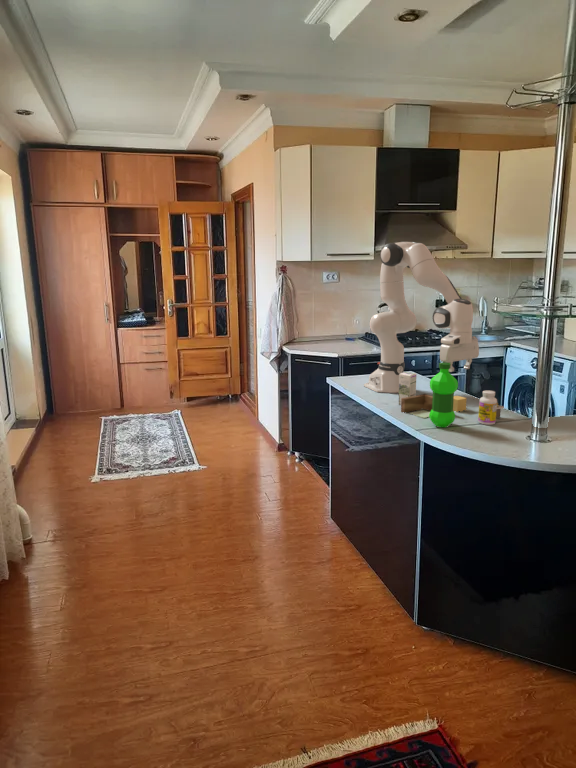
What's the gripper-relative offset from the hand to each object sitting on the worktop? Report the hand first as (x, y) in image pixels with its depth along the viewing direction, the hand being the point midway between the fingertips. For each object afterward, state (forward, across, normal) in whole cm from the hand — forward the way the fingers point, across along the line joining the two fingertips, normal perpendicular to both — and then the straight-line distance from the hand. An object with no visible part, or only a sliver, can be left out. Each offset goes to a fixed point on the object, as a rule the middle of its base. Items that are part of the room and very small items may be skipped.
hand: (459, 370), depth 238 cm
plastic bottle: (+18, +22, +12) cm, 31 cm away
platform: (+18, -3, +16) cm, 24 cm away
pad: (+18, +17, -3) cm, 25 cm away
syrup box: (+18, +12, -18) cm, 28 cm away
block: (+18, 0, 0) cm, 18 cm away
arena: (+17, +15, -4) cm, 23 cm away
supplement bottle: (+18, +5, +20) cm, 27 cm away
